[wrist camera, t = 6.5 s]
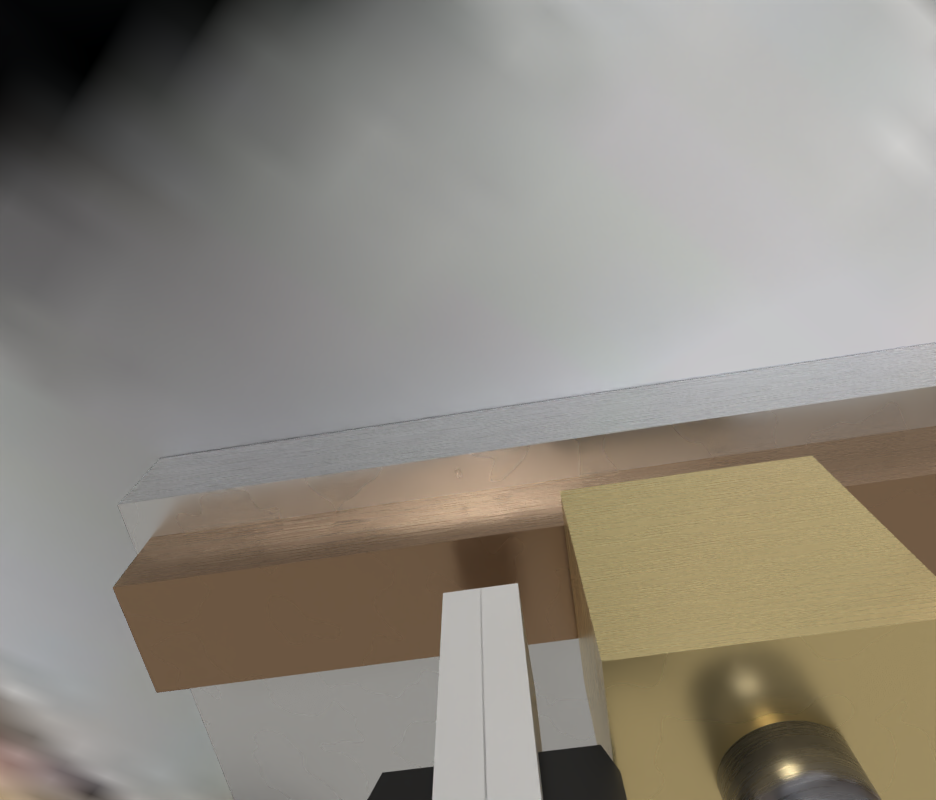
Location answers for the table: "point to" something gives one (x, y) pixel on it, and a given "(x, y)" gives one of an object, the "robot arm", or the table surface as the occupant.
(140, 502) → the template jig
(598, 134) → the table surface
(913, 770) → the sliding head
